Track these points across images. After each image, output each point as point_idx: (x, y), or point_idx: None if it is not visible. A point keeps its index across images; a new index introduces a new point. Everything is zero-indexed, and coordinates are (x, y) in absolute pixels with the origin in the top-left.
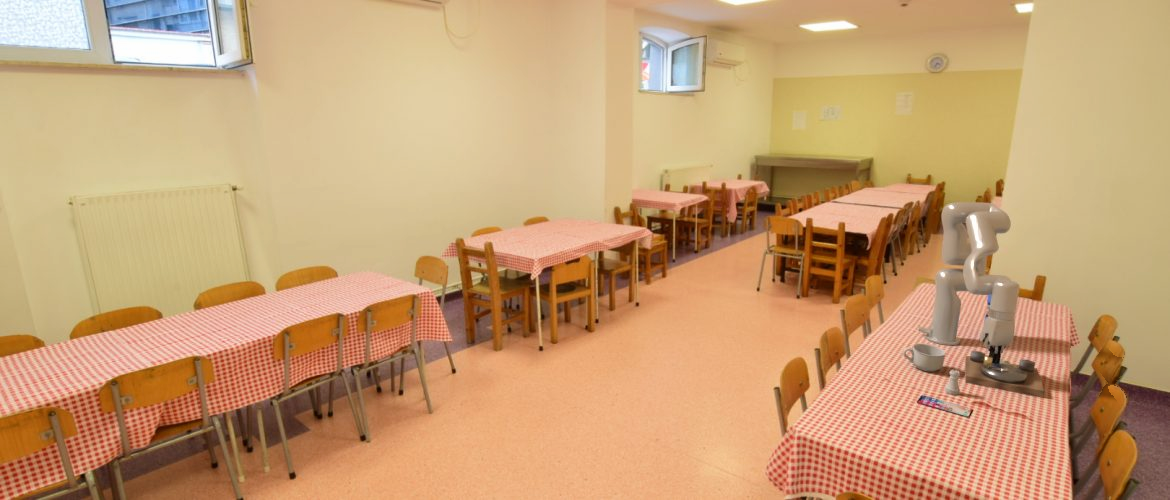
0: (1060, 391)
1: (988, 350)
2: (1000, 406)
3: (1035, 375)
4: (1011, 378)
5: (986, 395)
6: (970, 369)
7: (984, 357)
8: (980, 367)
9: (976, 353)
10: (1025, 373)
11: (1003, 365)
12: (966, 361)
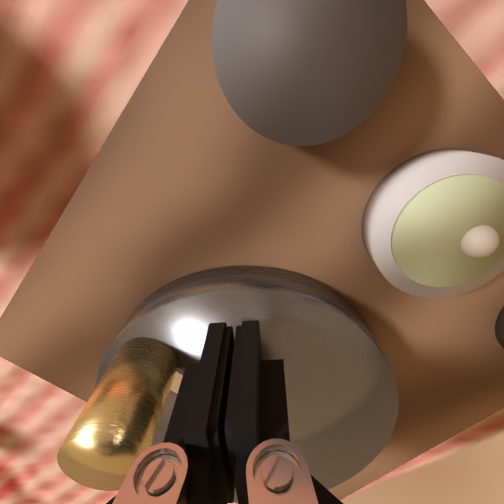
0: (462, 449)
1: (135, 462)
2: (59, 496)
3: (486, 398)
4: None
5: (55, 433)
6: (73, 260)
7: (69, 432)
8: (193, 234)
9: (271, 52)
10: (356, 469)
11: (331, 352)
12: (149, 73)
